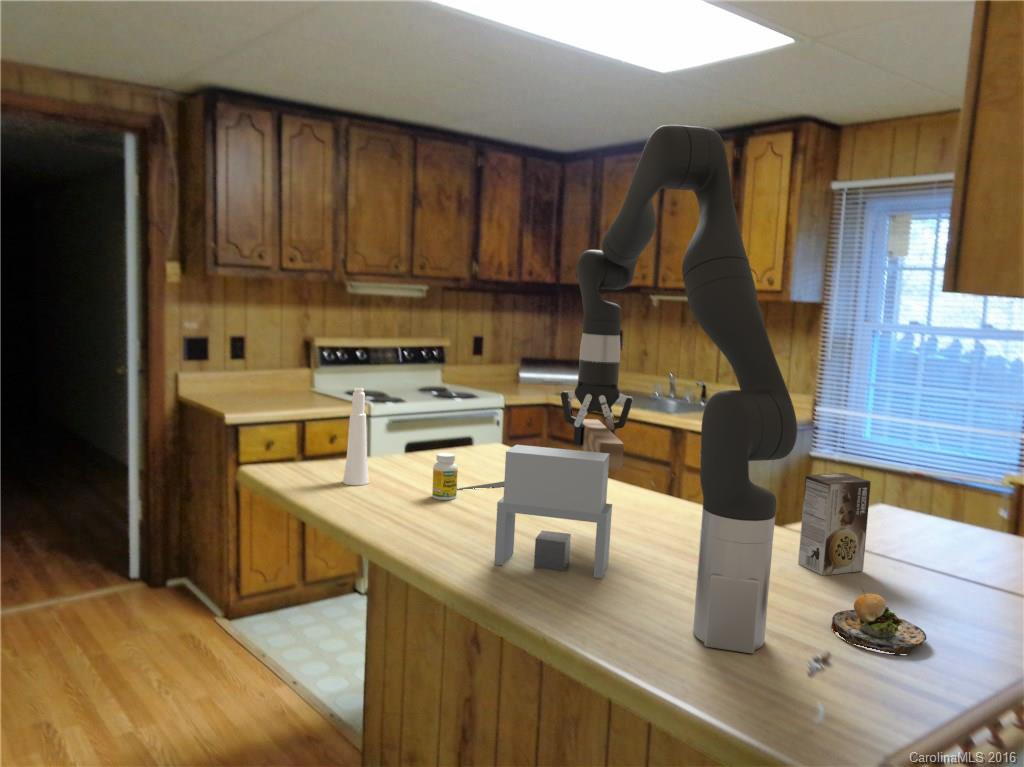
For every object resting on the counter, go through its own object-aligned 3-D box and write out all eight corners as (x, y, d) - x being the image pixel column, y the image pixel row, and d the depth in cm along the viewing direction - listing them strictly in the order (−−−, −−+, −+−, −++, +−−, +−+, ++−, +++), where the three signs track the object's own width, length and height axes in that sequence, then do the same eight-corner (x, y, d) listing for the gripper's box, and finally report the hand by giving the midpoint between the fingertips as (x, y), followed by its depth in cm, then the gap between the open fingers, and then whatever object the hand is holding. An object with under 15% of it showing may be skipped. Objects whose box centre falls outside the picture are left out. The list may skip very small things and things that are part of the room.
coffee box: (836, 560, 140) (844, 472, 138) (864, 572, 134) (873, 480, 132) (795, 563, 136) (804, 473, 135) (822, 576, 130) (831, 482, 129)
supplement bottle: (446, 493, 174) (447, 451, 173) (461, 498, 170) (463, 455, 169) (427, 496, 170) (428, 453, 169) (442, 501, 166) (444, 457, 165)
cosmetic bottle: (346, 479, 182) (349, 386, 180) (371, 480, 182) (374, 387, 180) (339, 484, 176) (342, 389, 174) (365, 486, 176) (369, 390, 174)
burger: (924, 666, 98) (930, 609, 98) (825, 642, 104) (830, 589, 103) (926, 633, 109) (931, 582, 108) (836, 614, 115) (840, 565, 114)
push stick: (622, 469, 131) (624, 443, 131) (598, 469, 131) (600, 443, 130) (596, 441, 155) (598, 419, 154) (576, 440, 154) (578, 418, 154)
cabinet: (602, 578, 124) (610, 461, 122) (494, 564, 128) (499, 451, 126) (608, 565, 130) (615, 454, 128) (505, 551, 135) (510, 444, 133)
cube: (563, 572, 126) (565, 542, 126) (533, 568, 127) (535, 538, 127) (569, 562, 131) (570, 533, 130) (540, 558, 132) (541, 530, 132)
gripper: (558, 357, 143) (552, 447, 145) (636, 362, 140) (629, 455, 142) (565, 354, 150) (560, 440, 152) (639, 359, 147) (633, 447, 149)
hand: (593, 446), depth 147 cm, fingers closed on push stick, 5 cm apart
